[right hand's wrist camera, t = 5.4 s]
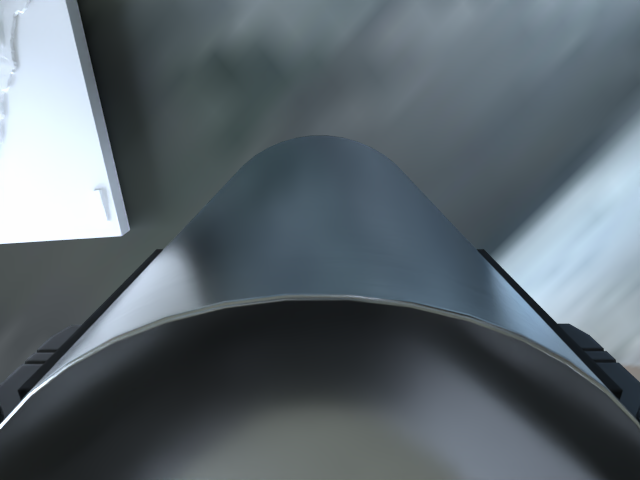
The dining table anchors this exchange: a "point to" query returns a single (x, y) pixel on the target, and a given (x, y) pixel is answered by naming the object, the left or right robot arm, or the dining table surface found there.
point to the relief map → (52, 130)
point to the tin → (320, 350)
